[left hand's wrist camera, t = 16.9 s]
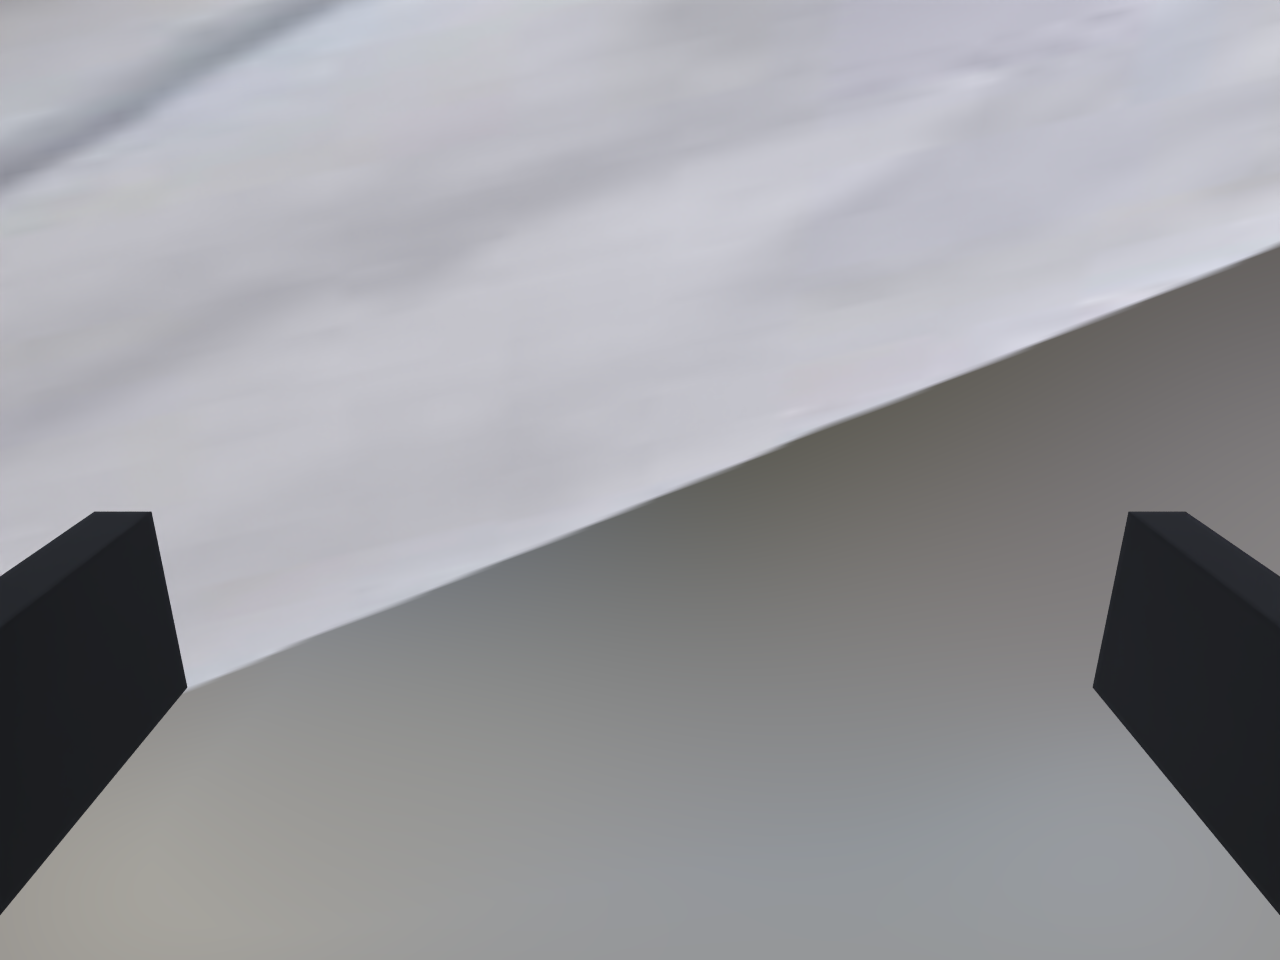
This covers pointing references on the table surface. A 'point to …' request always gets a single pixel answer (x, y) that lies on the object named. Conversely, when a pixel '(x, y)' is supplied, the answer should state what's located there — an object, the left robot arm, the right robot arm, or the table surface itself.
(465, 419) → the table surface
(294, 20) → the table surface
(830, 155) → the table surface
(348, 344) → the table surface
